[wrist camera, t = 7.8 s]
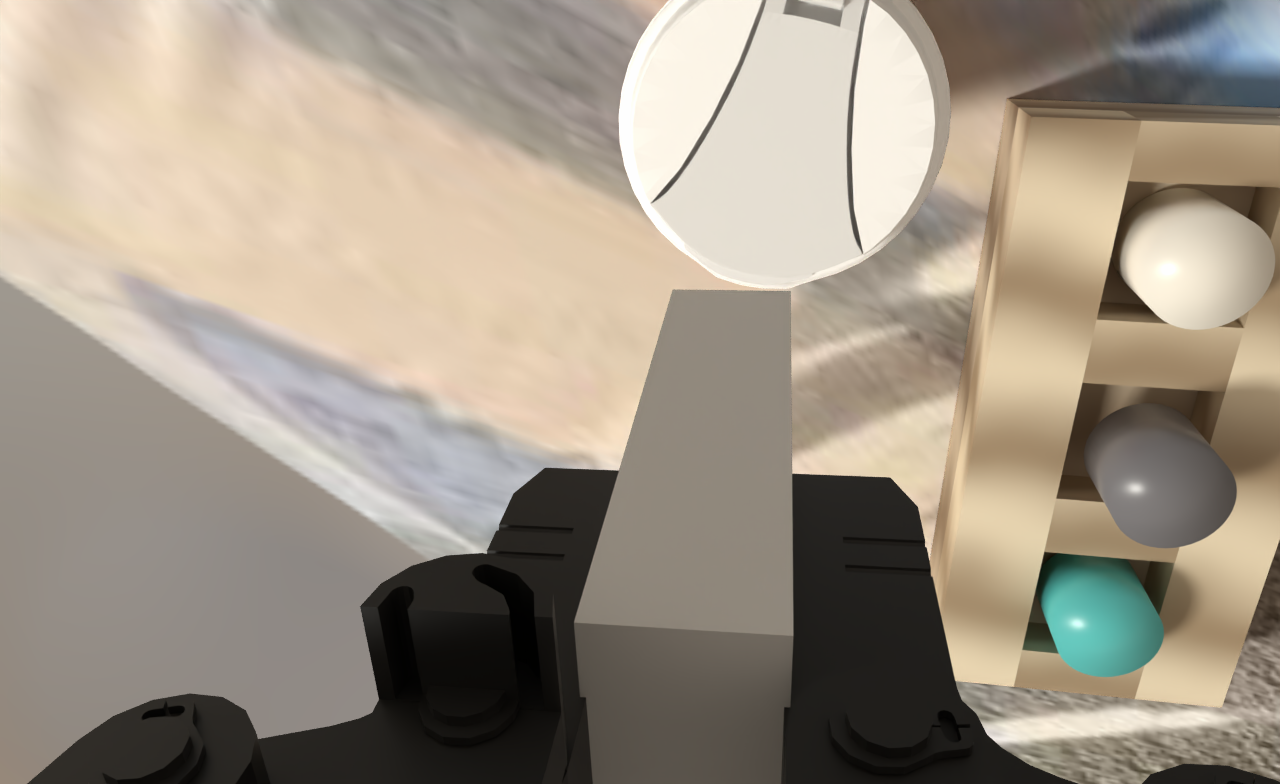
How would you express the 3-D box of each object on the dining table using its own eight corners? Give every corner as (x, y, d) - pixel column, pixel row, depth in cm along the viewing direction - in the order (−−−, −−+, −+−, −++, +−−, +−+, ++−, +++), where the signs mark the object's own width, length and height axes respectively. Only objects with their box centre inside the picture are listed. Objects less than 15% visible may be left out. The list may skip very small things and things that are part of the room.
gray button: (1095, 399, 36) (1125, 443, 33) (1210, 407, 36) (1251, 452, 33) (1074, 492, 38) (1099, 543, 35) (1183, 501, 37) (1219, 553, 34)
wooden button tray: (1007, 99, 36) (1031, 116, 33) (1355, 110, 35) (1421, 130, 31) (919, 620, 46) (930, 678, 43) (1186, 645, 45) (1221, 707, 41)
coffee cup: (701, -81, 35) (647, -89, 22) (925, -30, 35) (1013, -6, 21) (653, 150, 39) (582, 264, 25) (856, 197, 39) (893, 339, 25)
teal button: (1045, 540, 41) (1066, 591, 38) (1145, 549, 41) (1175, 600, 37) (1027, 617, 43) (1046, 671, 40) (1123, 626, 42) (1150, 681, 39)
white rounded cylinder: (1125, 185, 35) (1158, 210, 32) (1244, 190, 34) (1290, 216, 31) (1100, 292, 36) (1130, 326, 33) (1214, 298, 36) (1255, 333, 33)
